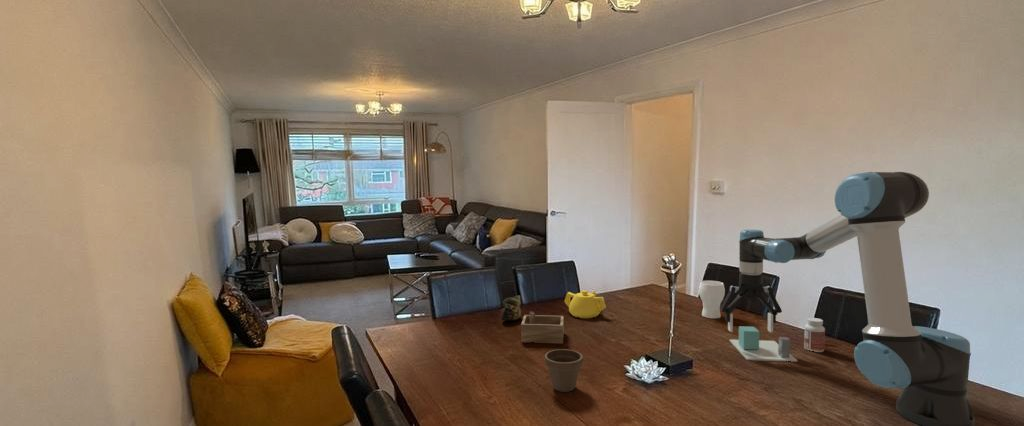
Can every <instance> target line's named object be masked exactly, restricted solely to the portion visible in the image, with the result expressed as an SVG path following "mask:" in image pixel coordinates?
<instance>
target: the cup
mask: <svg viewBox="0 0 1024 426" xmlns="http://www.w3.org/2000/svg"><path fill="white" fill-rule="evenodd" d="M698 294H699V297H700V299H701V302H702V307H703V308H702V311H701V316H702V317H704V318H707V319H720V318H722V317H721V310H720V307H721V304H722V303H723V301H724V299H725V298H724V297H725V295H726V289H725V284H724V282H721V281H718V280H702V281H700V282H699V286H698Z"/></svg>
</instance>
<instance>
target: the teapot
mask: <svg viewBox="0 0 1024 426" xmlns="http://www.w3.org/2000/svg"><path fill="white" fill-rule="evenodd" d="M571 298H572V299H571ZM605 302H606V301H605V299H604V296H597V292H595V291H591V292H589V291H588V290H585V289H584V290H583V289H582V290H581V292H578V293H573V292H570V291H568V292H567V293H566V295H565V298H564V303H565V305H566V306H567V307H568V311H569V313H570V314H571V315H572V316H573V317H575V318H578V317H579V319H592V318H593V317H594V318H596V317H598V316H599V315H600V313H601V312H602V311H603V310H604V309H606V308H607V305H606V303H605ZM594 318H593V319H594Z"/></svg>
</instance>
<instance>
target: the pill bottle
mask: <svg viewBox="0 0 1024 426" xmlns="http://www.w3.org/2000/svg"><path fill="white" fill-rule="evenodd" d="M806 322H807V323H806V324H805V326H804V335H803V336H804V338H803V339H804V341H803V348H804V349H805V350H806V349H807V350H806V351H809V350H810V352H812V351H814V352H813V353H823V352H824V351H825V344H826V343H825V341H826V338H825V337H826V328H825V327H824V326H823V324H824V320H823V319H822V318H816V317H808V318H807V320H806Z"/></svg>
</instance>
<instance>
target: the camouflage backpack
mask: <svg viewBox="0 0 1024 426" xmlns="http://www.w3.org/2000/svg"><path fill="white" fill-rule="evenodd" d="M521 305H522V302H521V296H520V295H515V296H513V297H507V298H505V299H503V301H502V306H503V309H504V311H503V312H502V316H501V320H502V321H516V320H518V319H520V317H521V315H522V310H521V307H520V306H521Z"/></svg>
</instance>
